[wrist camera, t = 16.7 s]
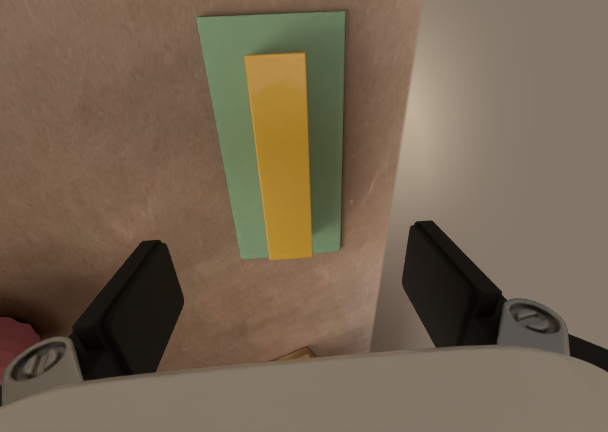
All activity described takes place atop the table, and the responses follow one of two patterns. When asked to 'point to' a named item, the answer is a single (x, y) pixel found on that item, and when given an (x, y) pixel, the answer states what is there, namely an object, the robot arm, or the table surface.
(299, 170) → the bar
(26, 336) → the apple
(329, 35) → the mat
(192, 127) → the table surface
